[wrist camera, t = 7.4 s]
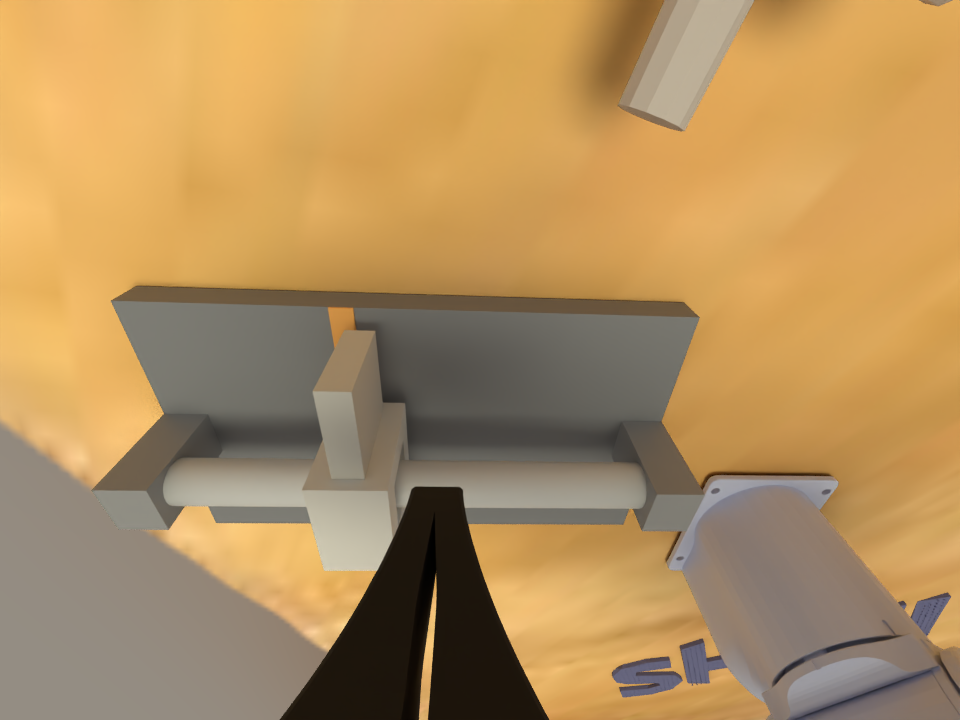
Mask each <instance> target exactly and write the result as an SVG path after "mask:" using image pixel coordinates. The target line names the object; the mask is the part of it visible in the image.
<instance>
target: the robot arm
mask: <svg viewBox="0 0 960 720" xmlns="http://www.w3.org/2000/svg"><path fill="white" fill-rule="evenodd" d="M838 484H839V483H838V481H837V480H836V479H835V478H834V477H831V476H755V475H715V476H712V477H710V478H709V479H708V481H707V483H706V485H705V487H704V489H703V492H704V494H705V496H704V498H703V500H702V502H701V504H700V506H699V508H698V510H697V512H696V514H695V516H694V518H693V520H692V522H691V524H690V526H689V528H688V529H687V531H682V533H681V535H680V537H679V539H678V541H677V543H676V545H675V547H674V549H673V551H672V553H671V555H670V557H669V559H668V561H667V566H668V568H669V569H670V570H682V572H683V574H684V576H685V578H686V581H687V583H688V585H689V587H690V589H691V592H692V594H693V596H694V598H695V601H696V603H697V605H698V607H699V609H700V612H701V614H702V616H703V618H704V620H705V623H706V625H707V627H708V629H709V631H710V634H711V636H712V638H713V640H714V642H715V645H716V647H717V649H718V651H719V653H720V655H721V657H722V659H723V661H724V663H725V664H726V666H727V667H728V669H729V670H730V672H731V673H732V674H733V675H734V677H735V678H736V679H737V680H738V681H739V682H740V683H741V684H742V685H743V686H744V687H745V688H746V689H747V690H748V691H749V692H750V693H752V694H753V695H754V696H755V697H757V698H758V699H760V700H761V701H763V702H765V703H766V705H767V707H768V709H769V711H770V713H771V715H769V716H768V717H767V719H766V720H960V648H958V647H950V648H947V649H945V650H943V649H941V648H939V647H938V646H936V645H934V644H933V643H932V642H931V641H930V640H929V639H928V637H927V636H926V635H925V634H924V633H923V632H922V630H921V629H920V628H919V627H918V626H917V624H916V623H915V622H914V621H913V620H912V619H911V617H910V616H909V615H908V614H907V613H906V612H905V610H904V609H903V608H902V607H901V606H900V604H899V603H898V602H897V601H896V600H895V599H894V597H893V596H892V595H891V594H890V593H889V592H888V590H887V589H886V588H885V587H884V586H883V585H882V583H881V582H880V581H879V580H878V579H877V577H876V576H875V575H874V574H873V573H872V572H871V570H870V569H869V568H868V567H867V566H866V565H865V563H864V562H863V561H862V560H861V559H860V557H859V556H858V555H857V554H856V553H855V552H854V550H853V549H852V548H851V547H850V546H849V545H848V543H847V542H846V541H845V540H844V539H843V538H842V536H841V535H840V534H839V533H838V532H837V530H836V529H835V528H834V527H833V526H832V525H831V523H830V522H829V521H828V520H827V519H826V518H825V516H824V515H823V514H822V513H821V512H820V509H821V508H822V506H823V505H824V504H825V502H826V501H827V500H828V498H829V497H830V496H831V494H832V493H833V492H834V490H835V489H836V488H837V486H838ZM435 575H436V582H437V601H436V619H435V633H434V648H433V661H432V675H431V688H430V701H429V714H428V720H549V718H548V716H547V715H546V713H545V711H544V709H543V707H542V705H541V704H540V702H539V700H538V698H537V696H536V694H535V692H534V690H533V688H532V686H531V684H530V682H529V680H528V678H527V676H526V674H525V672H524V670H523V668H522V666H521V664H520V662H519V660H518V658H517V656H516V654H515V652H514V650H513V647H512V645H511V643H510V641H509V639H508V637H507V634H506V632H505V630H504V627H503V625H502V623H501V621H500V618H499V616H498V613H497V611H496V608H495V606H494V603H493V601H492V598H491V596H490V593H489V590H488V588H487V585H486V582H485V580H484V577H483V574H482V571H481V568H480V565H479V562H478V558H477V555H476V552H475V549H474V545H473V542H472V538H471V534H470V530H469V526H468V522H467V517H466V512H465V506H464V498H463V489H462V488H460V487H423V486H415V487H414V488H412V489H411V492H410V496H409V499H408V502H407V505H406V508H405V511H404V513H403V516H402V519H401V521H400V523H399V526H398V528H397V530H396V533H395V535H394V537H393V539H392V541H391V543H390V546H389V548H388V550H387V552H386V554H385V556H384V558H383V560H382V562H381V564H380V566H379V568H378V570H377V572H376V574H375V575H374V577H373V579H372V581H371V583H370V585H369V587H368V588H367V590H366V592H365V594H364V596H363V597H362V599H361V601H360V603H359V604H358V606H357V608H356V609H355V611H354V613H353V614H352V616H351V618H350V619H349V621H348V623H347V624H346V626H345V627H344V629H343V631H342V632H341V634H340V635H339V637H338V638H337V640H336V641H335V643H334V644H333V646H332V647H331V649H330V650H329V652H328V653H327V655H326V657H325V658H324V659H323V661H322V662H321V664H320V665H319V667H318V668H317V670H316V671H315V673H314V674H313V676H312V677H311V678H310V680H309V681H308V683H307V684H306V685H305V687H304V688H303V689H302V691H301V692H300V694H299V695H298V696H297V697H296V699H295V700H294V701H293V703H292V704H291V706H290V707H289V708H288V710H287V711H286V712H285V713H284V715H283V716H282V718H281V719H280V720H419V708H420V693H421V679H422V669H423V660H424V653H425V646H426V639H427V632H428V625H429V618H430V611H431V604H432V597H433V590H434V583H435Z"/></svg>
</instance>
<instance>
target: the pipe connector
mask: <svg viewBox="0 0 960 720" xmlns="http://www.w3.org/2000/svg"><path fill="white" fill-rule="evenodd" d="M919 1H921V2H923V3H925V4H930V5H935V6H940V5H943V4H945V3H947V2H950V1H952V0H919ZM753 2H754V0H664V3H663V5H662V7H661V9H660V11H659V14H658V16H657V18H656V20H655V23H654V25H653V27H652V29H651V32H650V34H649V36H648V38H647V41H646V43H645V45H644V47H643V50H642V52H641V54H640V56H639V59H638V61H637V63H636V65H635V67H634V70H633V72H632V74H631V76H630V79H629V81H628V83H627V85H626V88H625V90H624V92H623V94H622V97H621V99H620V101H619V103H618V106H619V107H620V108H622V109H623V110H625V111H627V112H629V113H631V114H633V115H636V116H638V117H640V118H643V119H645V120H648V121H650V122H652V123H655V124H658V125H661V126H664V127H667V128H669V129H673V130H677V131H685V129H686V127H687V125H688V124H689V122H690V120H691V118H692V116H693V114H694V112H695V111H696V109H697V107H698V105H699V103H700V101H701V99H702V97H703V96H704V94H705V92H706V90H707V88H708V86H709V84H710V82H711V81H712V79H713V77H714V75H715V73H716V71H717V69H718V67H719V66H720V64H721V62H722V60H723V58H724V56H725V54H726V53H727V51H728V49H729V47H730V45H731V43H732V41H733V39H734V38H735V36H736V34H737V32H738V30H739V28H740V26H741V24H742V23H743V21H744V19H745V17H746V15H747V13H748V11H749V9H750V8H751V6H752V4H753Z"/></svg>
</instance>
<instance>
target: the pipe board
mask: <svg viewBox="0 0 960 720" xmlns="http://www.w3.org/2000/svg"><path fill="white" fill-rule="evenodd" d="M111 302H112V305H113V307H114V309H115V311H116V313H117V315H118V317H119V319H120V321H121V324H122V326H123V328H124V330H125V332H126V334H127V336H128V338H129V340H130V343H131V345H132V347H133V349H134V351H135V353H136V355H137V357H138V359H139V361H140V364H141V366H142V368H143V370H144V372H145V374H146V376H147V378H148V380H149V383H150V385H151V387H152V389H153V391H154V393H155V395H156V397H157V399H158V401H159V404H160V406H161V408H162V410H163V412H164V415H163V416H162V417H161V418H160V419H159V420H158V421H157V422H156V423H155V424H154V425H153V426H152V427H151V428H150V429H149V430H148V431H147V432H146V433H145V435H144V436H143V437H142V438H141V439H140V440H139V441H138V442H137V443H136V444H135V445H134V446H133V447H132V448H131V449H130V450H129V451H128V452H127V453H126V455H125V456H124V457H123V458H122V459H121V460H120V461H119V462H118V463H117V464H116V465H115V466H114V467H113V468H112V469H111V470H110V471H109V472H108V474H107V475H106V476H105V477H104V478H103V479H102V480H101V481H100V482H99V483H98V484H97V485H96V486H95V487H94V488H93V489H92V492H93V493H94V495H95V496H96V498H97V499H98V501H99V502H100V504H101V505H102V506H103V508H104V509H105V511H106V512H107V514H108V515H109V517H110V518H111V520H112V521H113V522H114V524H115V525H116V527H117V528H118V529H119V530H135V529H136V530H169V528H170V527H171V526H172V524H173V523H174V521H175V520H176V518H177V517H178V515H179V514H180V512H181V511H182V509H183V508H184V507H185V506H208V507H209V509H210V511H211V513H212V515H213V517H214V519H215V521H216V523H311V522H310V518H309V515H308V511H307V507H306V504H305V500H304V497H303V493H302V488H303V486H304V484H305V481H306V479H307V476H308V474H309V472H310V469H311V467H312V464H313V462H314V460H315V457H316V455H317V452H318V450H319V448H320V445H321V443H322V440H323V438H322V433H321V428H320V424H319V419H318V415H317V410H316V405H315V401H314V396H313V392H312V391H313V389H314V388H315V386H316V384H317V382H318V380H319V378H320V376H321V374H322V372H323V370H324V368H325V366H326V364H327V363H328V361H329V359H330V357H331V355H332V353H333V351H334V349H335V347H336V345H337V343H338V341H339V339H340V338H341V336H342V334H343V332H344V330H360V331H375V334H376V343H377V353H378V363H379V372H380V382H381V391H382V401H383V403H405V409H406V424H407V439H408V454H409V460H399V465H398V470H397V476H396V481H395V487H394V488H395V498H396V507H406V505H407V502H408V499H409V496H410V492H411V489H412V488H414V487H415V486H423V487H460V488H462V489H463V498H464V506H465V512H466V517H467V522H468V524H621V525H623V524H624V521H625V518H626V516H627V513H628V510H629V509H633V510H634V513H635V515H636V518H637V520H638V522H639V525H640V527H641V530H642V531H687V529H688V528H689V526H690V524H691V522H692V520H693V518H694V516H695V514H696V512H697V510H698V508H699V506H700V504H701V502H702V500H703V498H704V496H705V494H704V492H703V491H702V489H701V487H700V486H699V484H698V482H697V481H696V479H695V477H694V476H693V474H692V472H691V471H690V469H689V467H688V466H687V464H686V462H685V460H684V459H683V457H682V455H681V454H680V452H679V450H678V449H677V447H676V445H675V444H674V442H673V440H672V439H671V437H670V435H669V434H668V432H667V430H666V429H665V427H664V425H663V424H662V422H661V421H662V418H663V415H664V413H665V410H666V407H667V405H668V402H669V399H670V396H671V394H672V391H673V388H674V386H675V383H676V380H677V377H678V375H679V372H680V369H681V367H682V364H683V361H684V359H685V356H686V353H687V350H688V348H689V345H690V342H691V340H692V337H693V334H694V331H695V329H696V326H697V323H698V321H699V318H700V317H699V316H698V315H697V314H695V313H694V312H693V311H692V310H691V309H690V308H689V307H688V306H687V305H686V304H685V303H682V302H649V301H616V300H582V299H549V298H516V297H483V296H449V295H416V294H383V293H349V292H316V291H283V290H250V289H216V288H183V287H150V286H135V287H134V288H132V289H130V290H129V291H127V292H125V293H123V294H122V295H120V296H118V297H116V298H115V299H113V300H111Z"/></svg>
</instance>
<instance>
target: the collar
mask: <svg viewBox="0 0 960 720" xmlns="http://www.w3.org/2000/svg"><path fill="white" fill-rule="evenodd" d="M312 392H313V396H314V401H315V405H316V410H317V415H318V419H319V424H320V428H321V433H322V438H323V440H322V443H321V445H320V448H319V450H318V452H317V455H316V457H315V460H314V462H313V464H312V467H311V469H310V472H309V474H308V476H307V479H306V481H305V484H304V486H303V488H302V493H303V497H304V500H305V504H306V507H307V511H308V515H309V518H310V522H311V525H312V529H313V532H314V536H315V540H316V543H317V547H318V550H319V554H320V558H321V561H322V565H323V568H324V571H377V570H378V568H379V566H380V564H381V562H382V560H383V558H384V556H385V554H386V552H387V550H388V548H389V546H390V543H391V541H392V539H393V537H394V535H395V533H396V530H397V528H398V526H399V523H400V521H401V519H402V516H403V513H404V511H405V508H406V507H396V498H395V488H394V487H395V481H396V476H397V470H398V465H399V460H409V454H408V439H407V424H406V409H405V403H383V401H382V391H381V382H380V372H379V363H378V353H377V343H376V334H375V331H360V330H344V332H343V334H342V336H341V338H340V339H339V341H338V343H337V345H336V347H335V349H334V351H333V353H332V355H331V357H330V359H329V361H328V363H327V364H326V366H325V368H324V370H323V372H322V374H321V376H320V378H319V380H318V382H317V384H316V386H315V388H314V389H313V391H312Z"/></svg>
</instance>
